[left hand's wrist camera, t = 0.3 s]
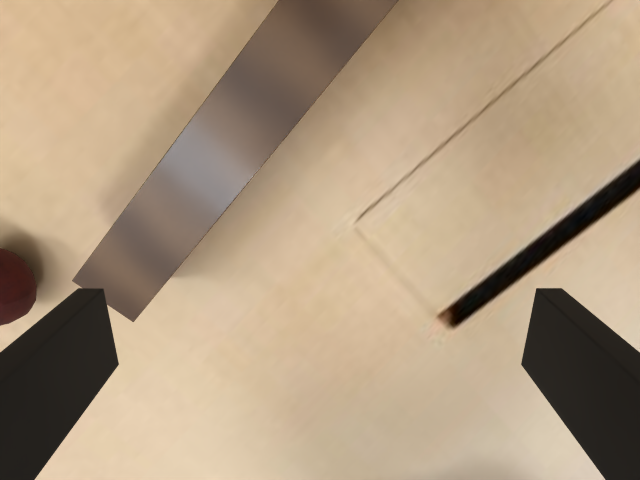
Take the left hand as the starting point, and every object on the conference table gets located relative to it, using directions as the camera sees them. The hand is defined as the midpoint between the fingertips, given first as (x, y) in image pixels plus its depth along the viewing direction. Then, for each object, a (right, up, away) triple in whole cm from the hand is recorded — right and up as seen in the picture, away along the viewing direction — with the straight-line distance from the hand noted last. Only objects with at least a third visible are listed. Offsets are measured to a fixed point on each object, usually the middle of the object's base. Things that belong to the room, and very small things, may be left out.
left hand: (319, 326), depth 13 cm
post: (0, +19, +21) cm, 28 cm away
